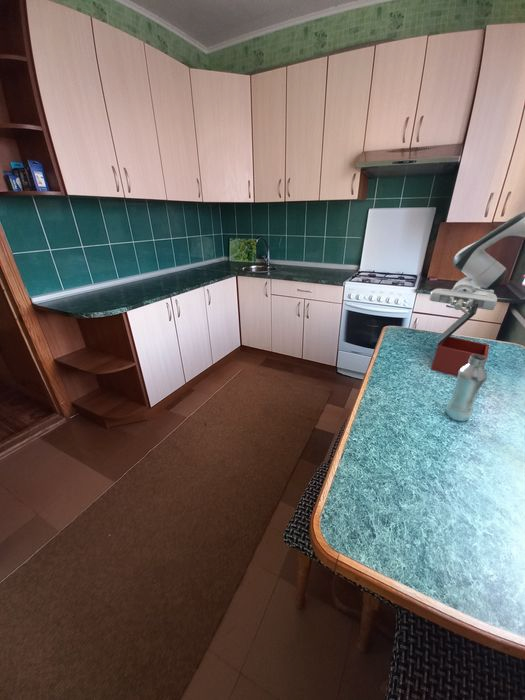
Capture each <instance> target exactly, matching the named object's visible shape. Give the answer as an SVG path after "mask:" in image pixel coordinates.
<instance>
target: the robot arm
mask: <svg viewBox="0 0 525 700" xmlns="http://www.w3.org/2000/svg"><path fill="white" fill-rule="evenodd" d="M513 236H515V237H520V238H525V211H523V212H521V213H519V214H517V215H514V217H512V218H510V219H508V220H507V221H505V222H503V223H502V224H500V225H499V226H497V227H496V228H494V229H492V230H491V231H489V232H488V233H486V234H485V235H484V236H482V237H480V238H478V239H477V240H475V241H474V242H472V243H471V244H468V245H467V246H464V247H463V248H461V249H460V250H458V252H457V253H456V254H455V255H454V257H453V259H452V263H453V268H455V269H456V270H458V271H459V272H461V273H463V274H464V275H465V276H466V277H463V278H461V279H459V280H458V281H457V282H456V283H455V284H454V286H453V287H452V289H447V288H434V289H433V290H431V291H430V294H429V301H430V302H436V303H441V304H448V305H450V306H452V307H454V306H455V304H456V303H457V301H458V300H459V299H462V300H463V301H464V302H463V305H462V308H464V309H465V308H466V309H467V307H470V308H471V307H474V305H476V304H478V308H477V309H481V310H487V311H494V310H495V308H496V307H497V303H498V296H497V295H496V294H495V290H494V289H496V288H497V287H498V286H500V285H501V283H502V282H504V280H505V278H506V275H507V271H508V269H507V267H505V266H504V265H503V264H502V263H500V261H498V260H496V259H495V258H494V257H493V256H491V255H490V254H489V253H488V252H486V251H485V249H487V248H489V247H490V246H492V245H494V244H495V243H497V242H498V241H500V240H502V239H504V238H506V237H513Z"/></svg>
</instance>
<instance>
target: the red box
mask: <svg viewBox="0 0 525 700" xmlns="http://www.w3.org/2000/svg"><path fill="white" fill-rule="evenodd" d="M489 350H490V344H489V343H483V342H478V341H473V340H468V339H464V338H459V337H455V336H454V337H453V336H449V337H448V338H447V339H446V340H445V341H444V342H443V343H441V344H440V345H438V344H437V347H436V351H435V354H434V358H433V361H432V365H431V368H430V370H431V371H434V372H435V371H436V372H439V373H442V374H446V375H449V376H453V377H458V372H459V370H460V368H461V367H462V366H464V365H465V364H467V363H469V362H468V360H469V358H470V356H471V355H472V354H479V355H482V356H484V357H486V362H485V364H486V363H487V361H488V358H489ZM483 367H484V368H485V366H483Z"/></svg>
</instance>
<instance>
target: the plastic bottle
mask: <svg viewBox="0 0 525 700" xmlns="http://www.w3.org/2000/svg"><path fill="white" fill-rule="evenodd" d="M468 362H469V363H467V364H465V365H464V366H462V367H461V368H460V370H459V372H458V377H457V376H456V377H457V379H456V384H455V387H454V391H453V393H452V395H451V396H450V398H449V400H448V401H447V404H446V406H445V407H446V408H445V412H446V414H447V416H448V417H449V418H451V419H452V420H455V421H457V422H465V421H467V420H470V418H471V417H472V416H473V413H474V405H475V402H476V398H477V396H478V394H479V392H480V389H481V388H482V387H483V385H484V383H485V382H486V380H487V371H486V370H485V366H486V363H487V360H486V357H484V356H482V355H479V354H472V355H471V356H470V358H469V360H468ZM485 362H486V363H485ZM483 366H484V367H483Z"/></svg>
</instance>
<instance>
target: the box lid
mask: <svg viewBox="0 0 525 700" xmlns="http://www.w3.org/2000/svg"><path fill="white" fill-rule="evenodd" d="M463 302H464V301H463V300H462V299H459V300H458V301H457V303H456V304H455V306H453V309H454V310H456V311H459V310H460V311H461V312H462V313H463V314H462V315H461V316H460V317H459V318H458V319H457V320H456V321H454V323H452V324H451V325H450V326H449V327H447V328H446V330H445V331H443V332H442V334H441V336H440V338H439V340H438V342H437V346H438V345H440V344H441V343H443V342H444V341H445V340H446V339H447V338H448V337H449V336H450V337H452V335H453V334H454V333H455V332H456V331H457V330H459V329H460V328H461V327H463V325H465V324H466V323H467V322H468V321H469V320H470V319H472V318H473V317H474V316H475V315H476V314H477V311H478V309H479V308H478V304H476V305H474V307H467V308H466V309H467V310H466V309H465V308H464V307H462V305H463Z"/></svg>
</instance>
